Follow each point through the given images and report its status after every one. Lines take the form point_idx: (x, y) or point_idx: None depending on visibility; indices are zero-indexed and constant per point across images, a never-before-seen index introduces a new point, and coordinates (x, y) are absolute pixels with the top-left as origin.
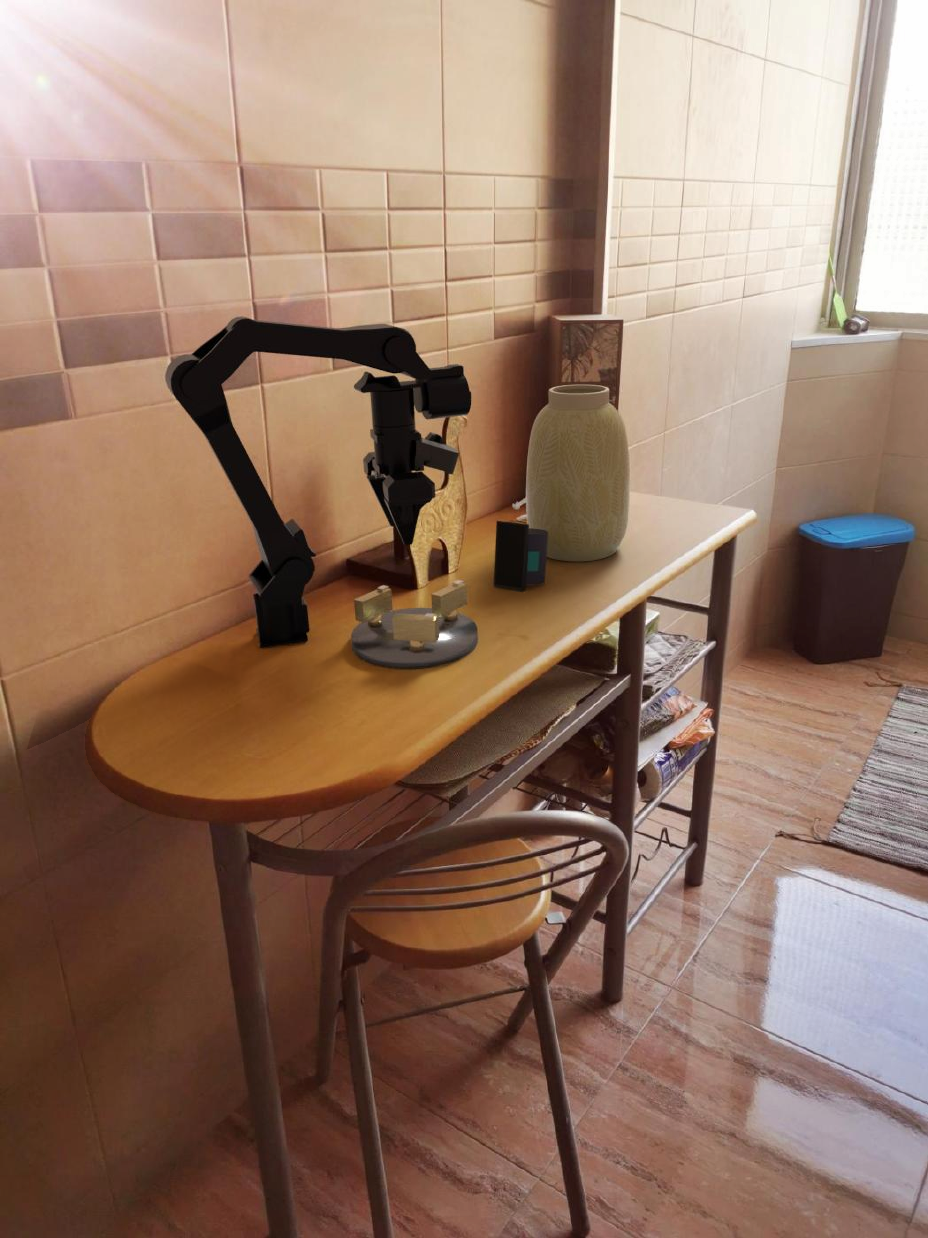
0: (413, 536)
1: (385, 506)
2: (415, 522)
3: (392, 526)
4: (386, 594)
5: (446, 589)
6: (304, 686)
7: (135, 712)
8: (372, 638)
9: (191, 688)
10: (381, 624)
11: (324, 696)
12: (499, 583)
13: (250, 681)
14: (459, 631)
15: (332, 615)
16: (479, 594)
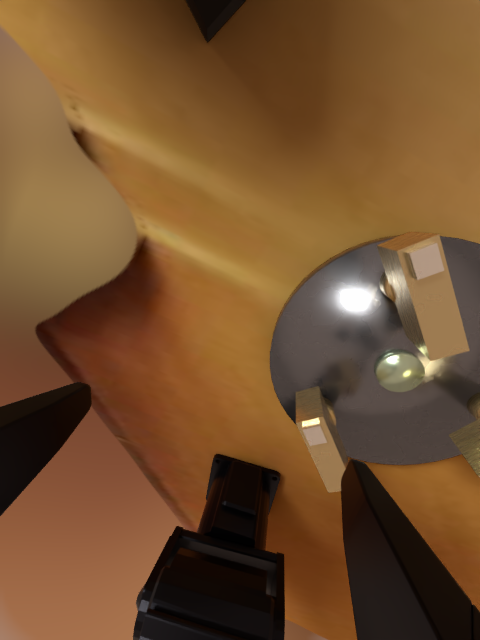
0: (391, 500)
1: (5, 495)
2: (473, 616)
3: (91, 401)
4: (328, 425)
5: (433, 311)
6: (415, 528)
7: (345, 630)
8: (370, 434)
9: (325, 589)
10: (331, 403)
11: (467, 527)
12: (214, 15)
13: None
14: (473, 294)
15: (198, 407)
16: (235, 110)
